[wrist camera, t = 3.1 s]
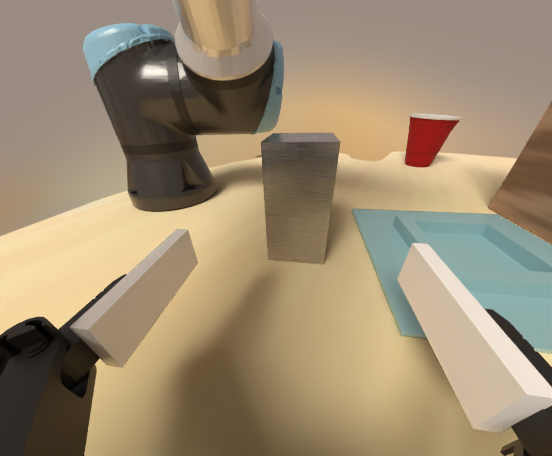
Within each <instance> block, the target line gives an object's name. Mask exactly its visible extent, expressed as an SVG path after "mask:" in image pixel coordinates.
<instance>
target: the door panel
mask: <svg viewBox="0 0 552 456" xmlns="http://www.w3.org/2000/svg"><path fill="white" fill-rule="evenodd" d="M488 208H489V209H491V210H493V211H494V212H496V213H498V214H500V215H502V216H503V217H505V218H507V219H509V220H510V221H512V222H514V223H516V224H517V225H519V226H521V227H523V228H524V229H526V230H528V231H530V232H531V233H533V234H535V235H537V236H539V237H540V238H542V239H544V240H546V241H547V242H549V243H551V244H552V102H551V104H550V105H549V107H548V109H547V110H546V112H545V114H544V115H543V117H542V119H541V120H540V122H539V124H538V125H537V127H536V129H535V130H534V132H533V134H532V135H531V137H530V139H529V141H528V142H527V144H526V145H525V147H524V149H523V150H522V152H521V154H520V155H519V157H518V159H517V160H516V162H515V164H514V165H513V167H512V169H511V171H510V172H509V174H508V176H507V177H506V179H505V181H504V182H503V184H502V186H501V187H500V189H499V191H498V192H497V194H496V196H495V197H494V199H493V201H492V202H491V204H490V206H489V207H488Z"/></svg>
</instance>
